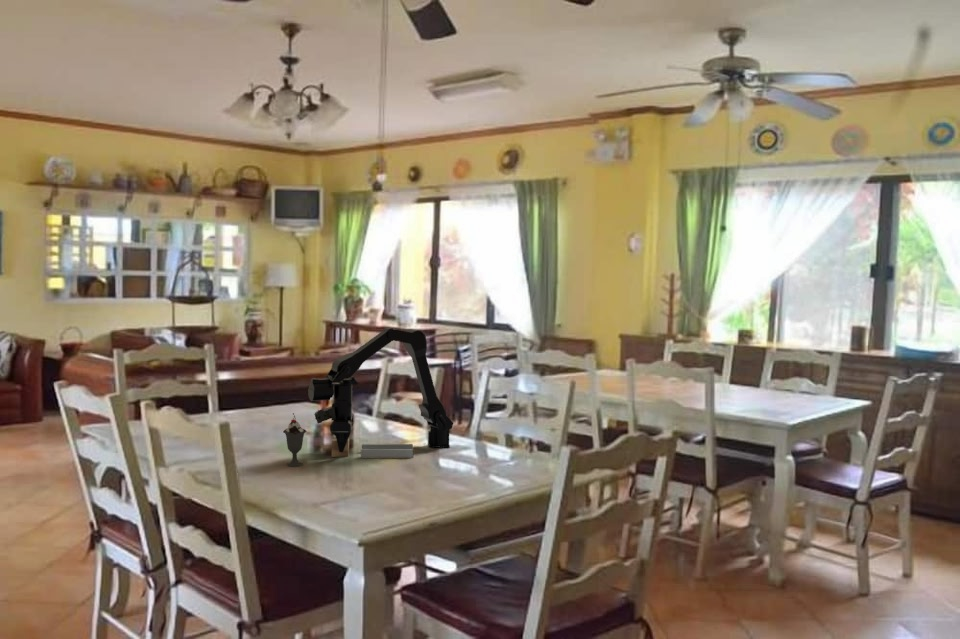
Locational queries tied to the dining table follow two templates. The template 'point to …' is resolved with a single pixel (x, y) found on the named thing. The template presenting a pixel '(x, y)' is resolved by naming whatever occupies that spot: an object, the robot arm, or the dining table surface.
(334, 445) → the block
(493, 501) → the dining table surface
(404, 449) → the channel
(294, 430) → the sundae
